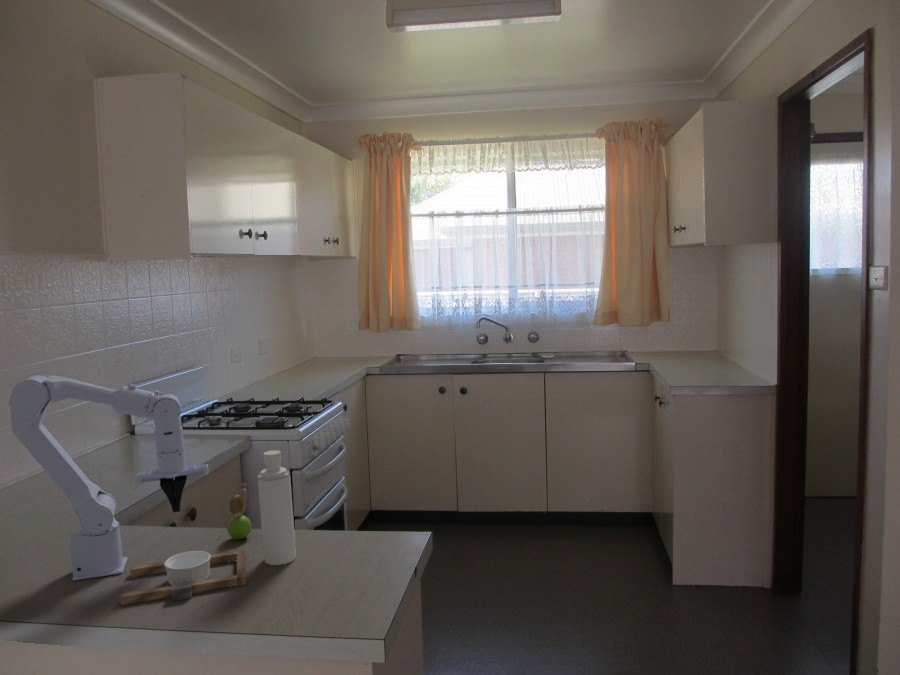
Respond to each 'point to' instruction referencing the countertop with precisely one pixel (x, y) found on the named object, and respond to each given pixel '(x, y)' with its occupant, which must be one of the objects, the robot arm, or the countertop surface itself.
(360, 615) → the countertop surface
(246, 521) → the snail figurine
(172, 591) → the brown flat frame
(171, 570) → the ramekin
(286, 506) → the white bottle
